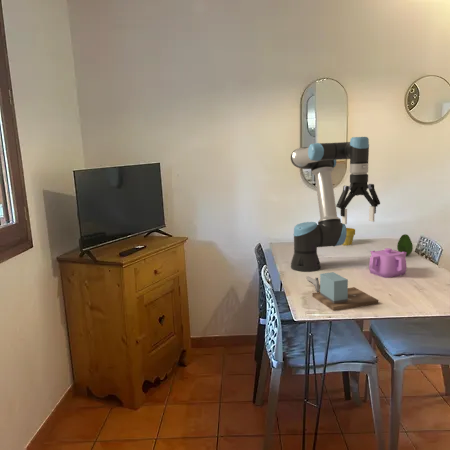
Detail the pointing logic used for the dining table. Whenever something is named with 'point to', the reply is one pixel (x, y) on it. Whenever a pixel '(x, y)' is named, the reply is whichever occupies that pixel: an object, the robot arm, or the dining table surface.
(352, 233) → the plant pot
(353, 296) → the board
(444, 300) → the dining table surface
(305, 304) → the dining table surface
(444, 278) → the dining table surface
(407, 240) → the avocado
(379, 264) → the pink lidded pot
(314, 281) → the caliper
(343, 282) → the block
